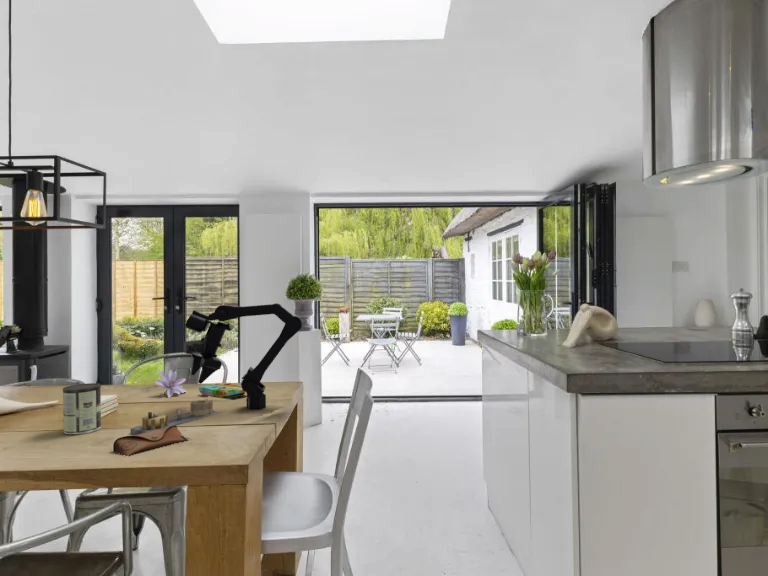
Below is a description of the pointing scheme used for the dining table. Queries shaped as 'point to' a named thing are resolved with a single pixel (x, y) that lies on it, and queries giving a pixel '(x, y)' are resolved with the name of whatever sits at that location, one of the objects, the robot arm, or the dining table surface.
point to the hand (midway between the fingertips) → (195, 379)
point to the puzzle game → (222, 390)
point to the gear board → (173, 422)
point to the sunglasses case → (147, 441)
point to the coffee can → (82, 408)
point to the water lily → (171, 383)
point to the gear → (201, 407)
